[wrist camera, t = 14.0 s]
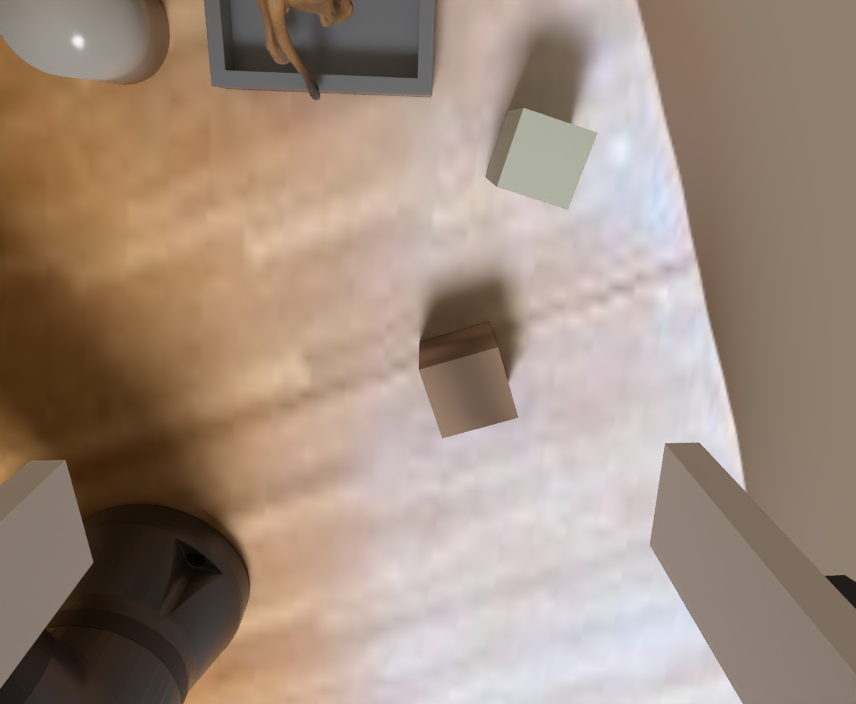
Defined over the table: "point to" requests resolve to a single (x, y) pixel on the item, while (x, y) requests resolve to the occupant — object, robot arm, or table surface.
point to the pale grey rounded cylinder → (88, 37)
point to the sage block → (540, 156)
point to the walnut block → (466, 380)
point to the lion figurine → (274, 4)
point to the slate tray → (326, 48)
